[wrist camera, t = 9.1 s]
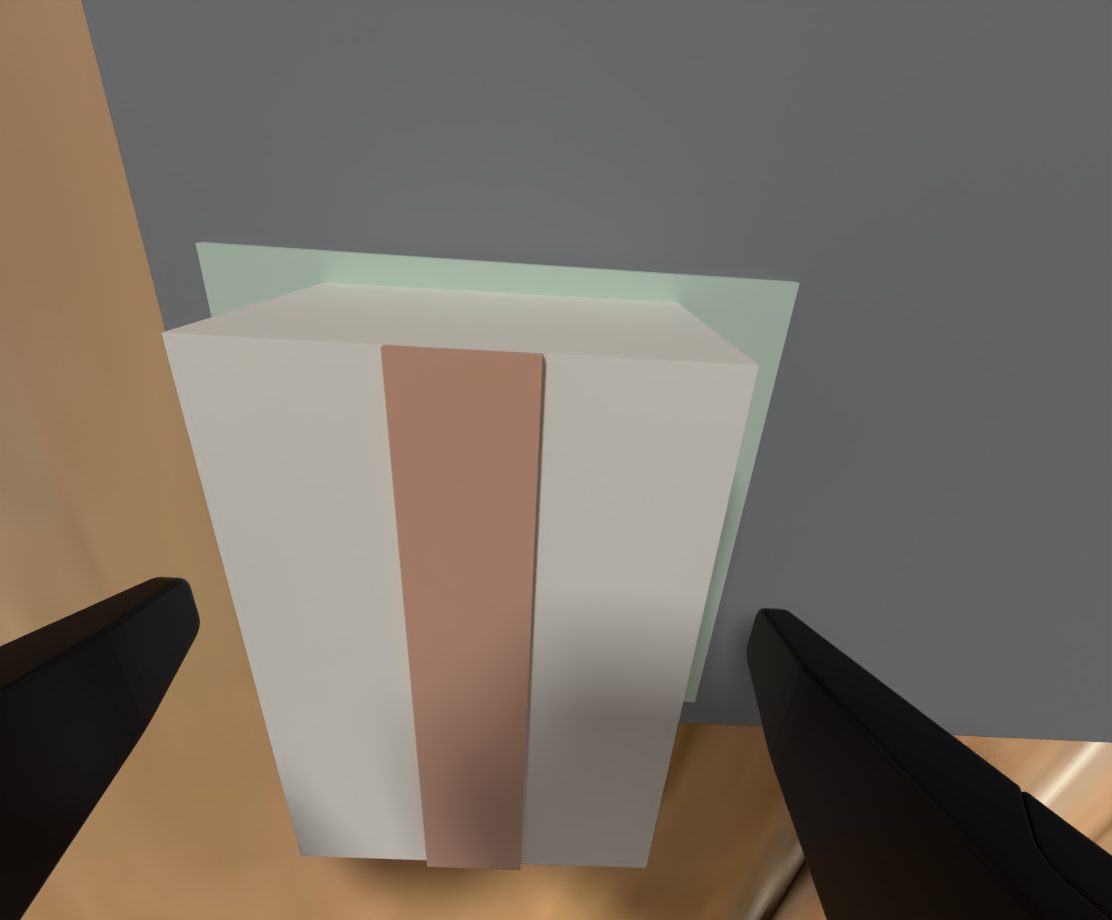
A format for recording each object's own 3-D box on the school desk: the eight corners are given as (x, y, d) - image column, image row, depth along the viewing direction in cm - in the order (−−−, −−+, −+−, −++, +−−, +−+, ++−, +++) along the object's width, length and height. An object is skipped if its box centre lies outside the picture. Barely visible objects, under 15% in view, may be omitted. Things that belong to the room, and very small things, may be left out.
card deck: (621, 682, 13) (646, 874, 9) (374, 672, 13) (298, 862, 9) (677, 302, 9) (761, 368, 5) (323, 282, 9) (155, 334, 5)
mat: (1637, 53, 8) (1717, 41, 7) (1118, 730, 14) (1140, 750, 14) (84, -72, 7) (46, -94, 7) (268, 690, 14) (256, 709, 13)
